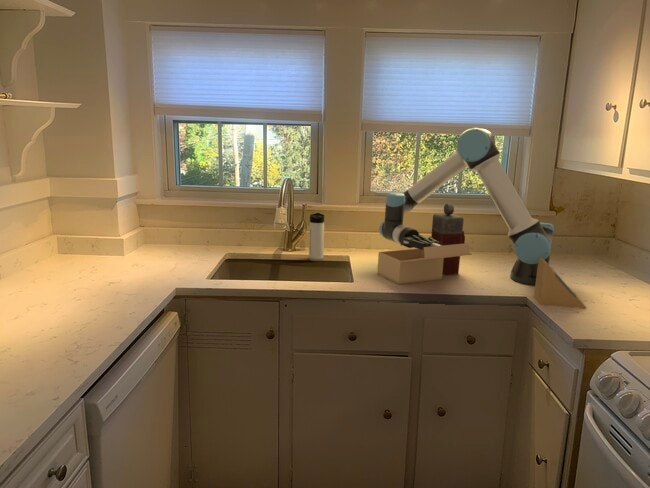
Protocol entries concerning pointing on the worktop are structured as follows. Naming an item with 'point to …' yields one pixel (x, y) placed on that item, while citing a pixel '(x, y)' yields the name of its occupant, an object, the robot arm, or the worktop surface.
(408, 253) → the mailer box
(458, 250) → the mailer lid
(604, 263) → the worktop surface
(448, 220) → the red grinder
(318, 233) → the travel mug
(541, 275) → the sandwich container
